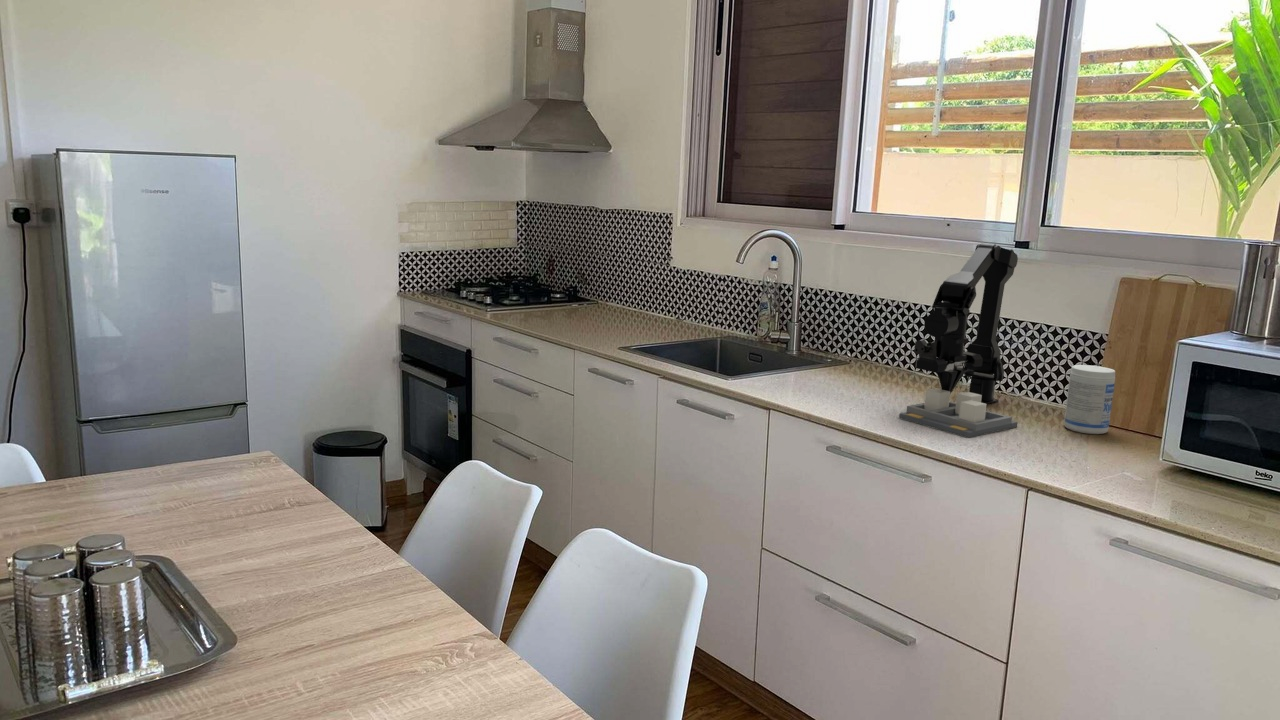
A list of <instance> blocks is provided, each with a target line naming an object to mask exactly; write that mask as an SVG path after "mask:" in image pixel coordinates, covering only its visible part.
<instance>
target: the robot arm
mask: <svg viewBox="0 0 1280 720" xmlns="http://www.w3.org/2000/svg"><path fill="white" fill-rule="evenodd" d="M1018 259H1019V258H1018V254H1017V253H1015V251H1014V249H1013V248H1004V247H1001V245H998V244H996V243H984V242H981V243H977V244H976V246H975V249H974V252H973V254H972V255H971V256H970V257H969V258H968V260H967V261H966V263H965V264H964V265H963V267H962V268H961V269H960V271H959V272H957V273H954V274H952V275H951V274H950V275H949V276H948V277H947V278H945V280H943V282H942V283H941V284H940V286H939V288H938V290H937V292H936V295H935V298H934V300H933V303H932V309H934V310H933V312H932V313H930V314H928V315H927V316H926V318H925V320H924V326H923V327H924V329H925V331H926V333H927V334H928V335H929V336H931V337H933V338H934V341H932V342H927V341H926V340H925V339H921V340H916V341H915V344H914V347H913V352H914V353H915V354H916V355H918V358H917V359H915V360H916V361H915V369H917V370H922V371H926V372H927V371H928V372H932V373H935V374H937V377H938V380H939V383H940V384H939V385H940V389H942V390H946V391H950V395H952V392H953V391H954V389H955V387H956V386H957V384H958V383H959V382H960V381H961V379H962V377H963V376H965V377H970V382H969V383H970V384H969V389H968V392H971V393H975V394H979V395H982V398H981V403H985V404H993V403H998V402H999V401H1000V400H999V399H997V398H994V397H995V389H996V382H1002V381H1003V380H1004V379H1003V378H1004V376H1005V368H1004V365H1003V363H1002V360H1001V353H1002V352H1001V349H1000V347H999V344H998V342H997V334H998V330H999V329H998V328H999V321H1000V316H1001V309H1002V304H1003V297H1004V291H1005V285H1006V283H1007V282H1008V281H1010V278H1012V277H1013V275H1014V272H1015V268H1016V267H1017V265H1018ZM982 278H983V279H984V288H983V293H982V301H981V306H980V312H979V319H978V326H977V331H976V338H974V339H973V341H972V342H971V343H969V337H966V332H967V322H968V314H970V312H971V311H970V309H971V306H972V304H973V303H974V301H975V299H976V297H977V289H976V286H977V284H978V283H979V282H980V280H981V279H982ZM967 343H969V344H968V345H967V347H966V351H964V349H965V344H967Z"/></svg>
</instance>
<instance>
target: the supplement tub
mask: <svg viewBox="0 0 1280 720" xmlns="http://www.w3.org/2000/svg"><path fill="white" fill-rule="evenodd" d="M1069 373H1070V374H1069V379H1068V380H1069V381H1068V388H1067V397H1066V403H1065V405H1066V406H1065V413H1064V414H1065V415H1064V421H1063V422H1064V423H1063V424H1064V427H1065V428H1066V429H1068V430H1070V431H1071V432H1076V433H1082V434H1090V435H1101V434H1106V433H1107V432H1108V431H1109V428H1110V427H1109V426H1110V420H1111V413H1112V405H1113V397H1114V391H1115V383H1116V370H1115V369H1113V368H1109V367H1104V366H1099V365H1092V364H1091V365H1089V364H1075V365H1072V366H1071V371H1070V372H1069Z"/></svg>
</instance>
